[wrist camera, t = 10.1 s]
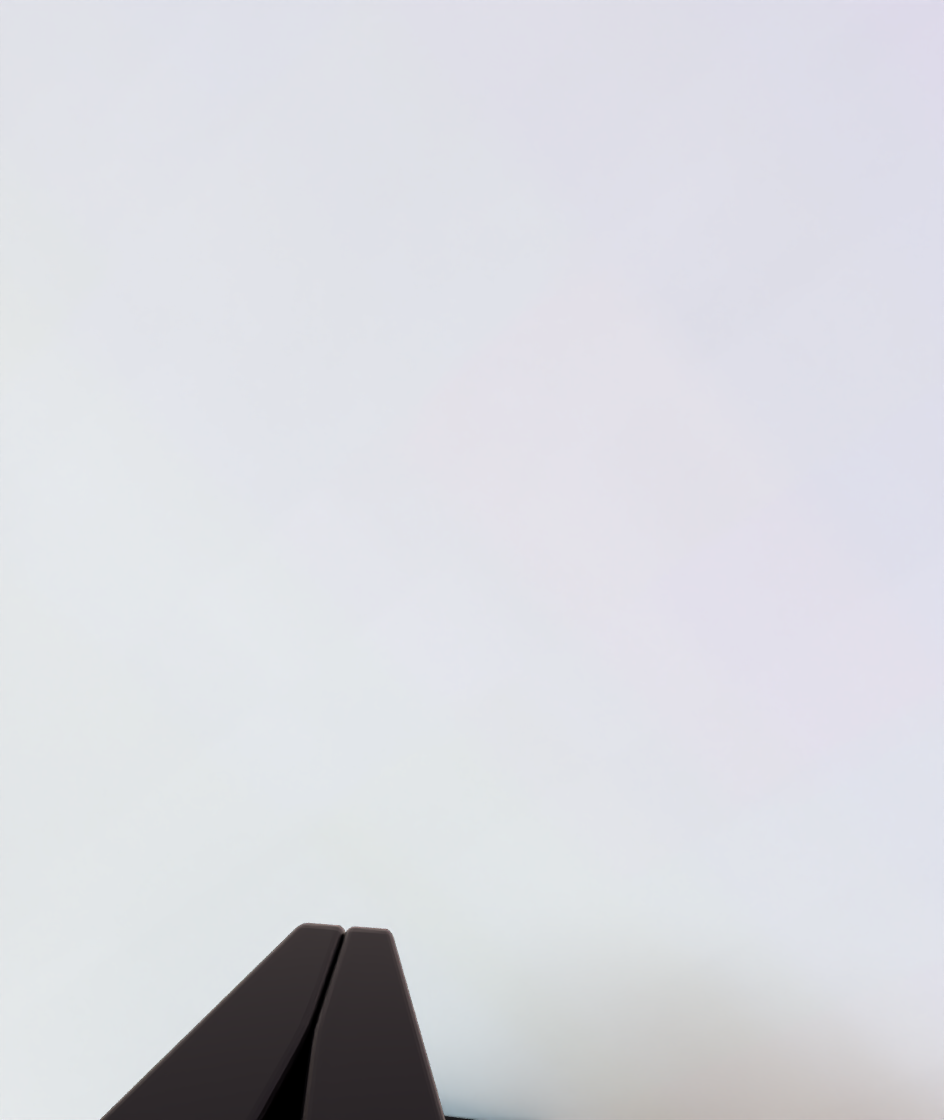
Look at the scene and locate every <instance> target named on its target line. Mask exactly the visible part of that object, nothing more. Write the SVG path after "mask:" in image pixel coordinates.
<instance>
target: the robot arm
mask: <svg viewBox="0 0 944 1120" xmlns="http://www.w3.org/2000/svg"><path fill="white" fill-rule="evenodd" d="M100 1120H471V1119H463V1118H455V1117H447V1116H444V1113H443V1110H442V1106H441V1103H440V1099H439V1096H438V1092H437V1089H436V1085H435V1082H434V1078H433V1075H432V1071H431V1067H430V1064H429V1060H428V1057H427V1053H426V1050H425V1046H424V1043H423V1039H422V1036H421V1032H420V1029H419V1025H418V1022H417V1018H416V1015H415V1011H414V1008H413V1004H412V1001H411V997H410V994H409V990H408V986H407V983H406V979H405V976H404V972H403V969H402V965H401V962H400V958H399V955H398V951H397V948H396V944H395V941H394V937H393V935H392V933H391V932H390V931H389V930H387V929H381V928H368V927H351V928H349V929H348V930H347V932H345V930H344V929H343V928H342V927H341V926H339V925H328V924H315V923H304V924H302V925H300V926H298V927H297V928H295V929H294V930H293V931H292V932H291V933H290V934H289V935H288V936H287V937H286V938H285V939H284V940H283V941H282V942H281V943H280V944H279V945H278V946H277V947H276V948H275V949H274V950H273V951H272V952H271V953H270V954H269V955H268V956H267V957H266V958H265V959H264V960H263V961H262V962H261V963H260V964H259V965H258V966H257V967H256V968H255V969H254V970H253V971H252V972H250V973H249V974H248V975H247V976H246V977H245V978H244V979H243V980H242V981H241V982H240V983H239V984H238V985H237V986H236V987H235V988H234V989H233V990H232V991H231V992H230V993H229V994H228V995H227V996H226V997H225V998H224V999H223V1000H222V1001H221V1002H220V1003H219V1004H218V1005H217V1006H216V1007H215V1008H214V1009H213V1010H212V1011H211V1012H210V1013H209V1014H208V1015H207V1016H205V1017H204V1018H203V1019H202V1020H201V1021H200V1022H199V1023H198V1024H197V1025H196V1026H195V1027H194V1028H193V1029H192V1030H191V1031H190V1032H189V1033H188V1034H187V1035H186V1036H185V1037H184V1038H183V1039H182V1040H181V1041H180V1042H179V1043H178V1044H177V1045H176V1046H175V1047H174V1048H173V1049H172V1050H171V1051H170V1052H169V1053H168V1054H167V1055H166V1056H165V1057H164V1058H163V1059H162V1060H160V1061H159V1062H158V1063H157V1064H156V1065H155V1066H154V1067H153V1068H152V1069H151V1070H150V1071H149V1072H148V1073H147V1074H146V1075H145V1076H144V1077H143V1078H142V1079H141V1080H140V1081H139V1082H138V1083H137V1084H136V1085H135V1086H134V1087H133V1088H132V1089H131V1090H130V1091H129V1092H128V1093H127V1094H126V1095H125V1096H124V1097H123V1098H122V1099H121V1100H120V1101H119V1102H118V1103H116V1104H115V1105H114V1106H113V1107H112V1108H111V1109H110V1110H109V1111H108V1112H107V1113H106V1114H105V1115H104V1116H103V1117H102V1118H101V1119H100Z"/></svg>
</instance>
